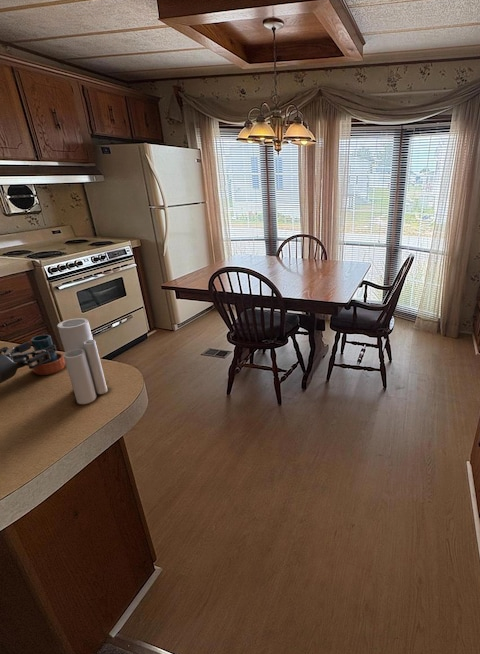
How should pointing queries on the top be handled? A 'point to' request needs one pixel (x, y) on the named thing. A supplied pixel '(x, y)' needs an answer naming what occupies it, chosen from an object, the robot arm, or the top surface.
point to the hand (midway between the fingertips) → (42, 345)
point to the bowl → (51, 366)
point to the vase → (82, 360)
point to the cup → (43, 345)
